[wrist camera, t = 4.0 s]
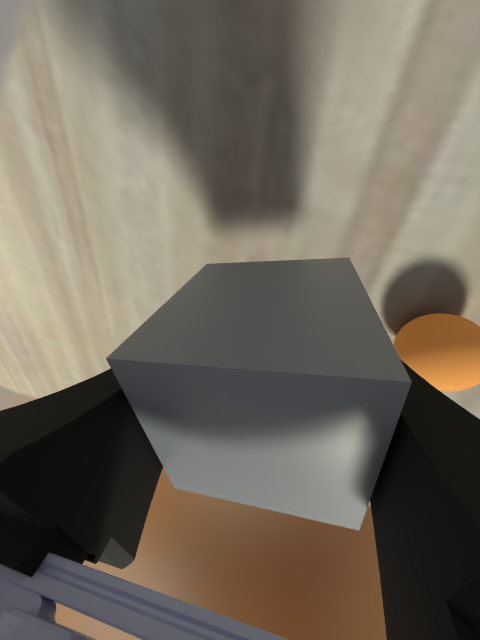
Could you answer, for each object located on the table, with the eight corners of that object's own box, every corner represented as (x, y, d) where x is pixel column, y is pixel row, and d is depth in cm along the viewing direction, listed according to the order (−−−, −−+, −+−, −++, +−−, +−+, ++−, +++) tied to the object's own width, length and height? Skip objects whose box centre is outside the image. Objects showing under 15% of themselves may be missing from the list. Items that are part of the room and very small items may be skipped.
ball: (477, 300, 16) (539, 346, 11) (451, 358, 18) (495, 413, 14) (392, 300, 17) (420, 342, 13) (379, 354, 19) (399, 403, 15)
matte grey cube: (349, 257, 9) (411, 382, 4) (335, 371, 12) (359, 530, 7) (206, 264, 11) (106, 358, 5) (226, 363, 14) (174, 488, 8)
